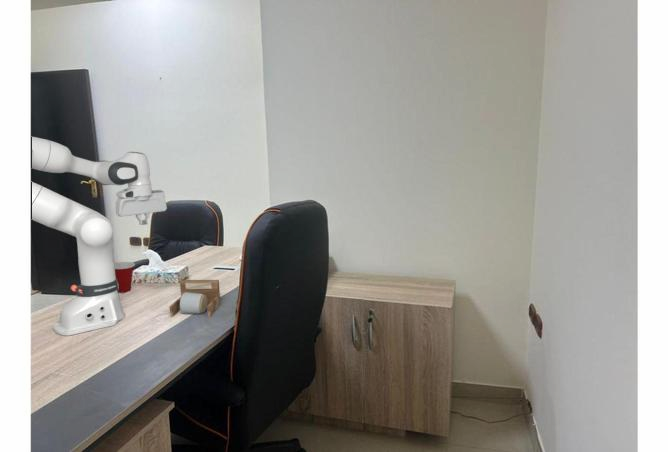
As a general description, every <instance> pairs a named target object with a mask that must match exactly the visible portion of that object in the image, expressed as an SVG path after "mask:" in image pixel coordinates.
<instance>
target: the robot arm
mask: <svg viewBox="0 0 668 452" xmlns="http://www.w3.org/2000/svg"><path fill="white" fill-rule="evenodd" d="M31 137H32V168H31V169H33V170H37V171H40V172H41V171H42V172H47V173H53V174H54V173H55V174H63V173H73V174H76V175H81V176H85V177H88V178H90V179H92V180H93V181H94V182H97V184H99V185H102V186H123V185H127V187H126V188H124V189H121V190H119V191H117V192H116V194H115V195H116V197H117V199H115V214H116V215H117V217H130V216H135V218H136V219H137V220H138V223H139V224H138V225H139V226H143V225H149V221H148V220H149V219H150V217H151V214H153V213H161V212H166V211H167V209H168V207H167V202H166V194H165V191H164V190H162V189H156V190H155V189H154V190H152V181H151V179H150V178H151V177H150V176H151V168H150V163H149V159H148V156H147V155H146V154H145V153H143V152H138V151H127V152H126V153H125V154H123V156H121V157H119V158H117V159H115V160H100V161H99V160H98V161H94V160H93V161H92V160H88V159H85V158H82V157H78V156H75V155H73V154H72V152H71V150H70V149H69V147H67V146H66V145H63V144H61V143H58V142H56V141H53V140H50V139H44V138H40V137H36V136H31ZM31 182H32V219H31V220H32V221H34V222H36V223H39V224H41V225H44V226H45V227H48V228H51V229H54V230H57V231H60V232H62V233H65V234H68V235H70V236H72V237H75V238H76V243H77V244H76V245H77V257H78V258H77V261H78V263H77V265H78V271H79V278H80V284H78V285H76V284H73V285H71V286H70V290H71V291H72V292H75V296H74V297H73V298H72V299H71V300H70V301H69V302H68V303H67V304H66V305H64V307H62V308H61V310H60V314H59V321H58V322H54V324H53V325H52V327H53V332H55V333H56V334H58V335H61V336H72V335H76V334H82V333H86V332H91V331H94V330H99V329H103V328H107V327H112V326H115V325H117V324H118V322H120V321H121V320H123V319H124V318H125V316H126V313H125V312H124V309H123V306H122V302H121V300H120V296H119V294H120V293H119V286H118V281H117V278H116V276H115V267H114V263H115V260H114V229H113V225H112V222H111V221H110V219H108V218H107V217H106V216H104V215H102V214H101V213H100V212H99V211H96V210H94V209H92V208H89V207H87V206H86V205H84V204H81V203H79V202H76V201H74V200H73V199H71V198H68V197H66V196H64V195H61V194H59V193H57V192H55V191H53V190H51V189H49V188H47V187H44V186H43V185H41V184H38V183H36V182H33V181H31ZM142 215H144V219H142V218H141V217H142Z"/></svg>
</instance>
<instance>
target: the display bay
mask: <svg viewBox="0 0 668 452" xmlns="http://www.w3.org/2000/svg"><path fill="white" fill-rule="evenodd" d="M179 287H180V288H179V289H180V297H179V298H178V299H176V301H174V302H172V304H171V305H169V317H170V318H173V317H175V316H176V314H178V312H181V310H180V299H181V296H182V295H183V293H185V292H188V293H198V294H204V295H206V297H207V300H208V304H207V309H206V311H207V317H209V318H210V317H212V315H213V314H214V313H215V312H216V310H218V308H220V307H221V295H220V294H221V292H220V290H221V289H220V280H219V279H181V280H179Z"/></svg>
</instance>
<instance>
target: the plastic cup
mask: <svg viewBox="0 0 668 452" xmlns="http://www.w3.org/2000/svg"><path fill="white" fill-rule="evenodd" d="M135 265H136V264H135V262H133V261H132V262H131V261H117V262H116V261H114V267H115V276H116V278H117V281H118V286H119V293H118V294H122V293H123V294H124V293H127V292H130V291H131V289H132V283H133V271H134V267H135Z"/></svg>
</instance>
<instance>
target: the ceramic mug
mask: <svg viewBox="0 0 668 452" xmlns="http://www.w3.org/2000/svg"><path fill="white" fill-rule="evenodd" d="M180 297H181V299H180V313H182V314H188V315H189V314H190V315H192V314H193V315H194V314H197V315H200V314H204V313H205V312H206V311H207V304H208V300H207V297H206V295H204V294H198V293H188V292H185V293H183V295H182V296H181V295H180Z"/></svg>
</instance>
